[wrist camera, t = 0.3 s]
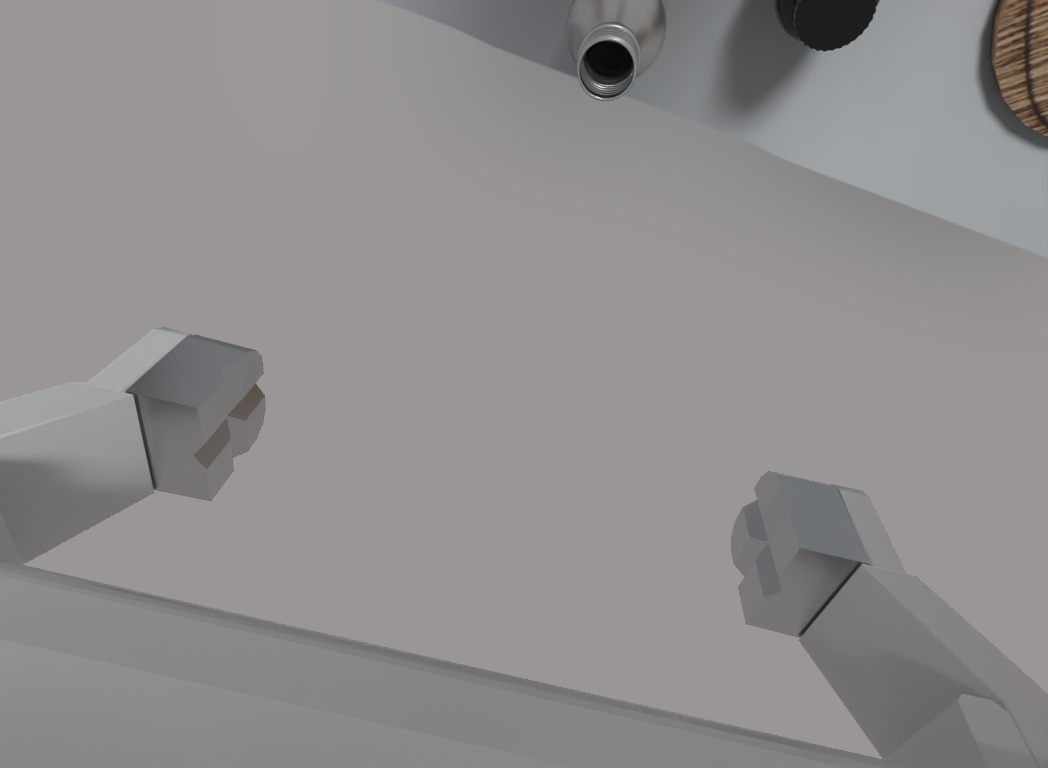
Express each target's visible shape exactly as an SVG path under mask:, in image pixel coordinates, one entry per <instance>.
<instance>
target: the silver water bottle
mask: <svg viewBox="0 0 1048 768" xmlns="http://www.w3.org/2000/svg"><path fill="white" fill-rule="evenodd" d="M665 32H666V13H665V7H664V3H663V0H574V2H573V4H572V7H571V9H570V12H569V16H568V21H567V39H568V44H569V48H570V51H571V53H572V56H573V59H574V61H575V62H576V64H577V75H578V80H579V83H580V85H581V87H582V88H583V90H584V91H585V92H586V93H587V94H588V95H590V96H591V97H593V98H595V99H597V100H602V101H610V100H614V99H617V98H620V97H621V96H623V95H624V94H625V93H626V92H627V91H628V90H629V89H630V88H631V86H632V85H633V83H634V81H635V78H636V77H638V76H640V75H641V74H642V73H643V72H644V71H645V70H646V69H647V68H648V67H649V66H650V65H651V64H652V63H653V61H654V60H655V59H656V57H657V56H658V54H659V52H660V50H661V48H662V45H663V42H664V38H665Z"/></svg>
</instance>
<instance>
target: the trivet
mask: <svg viewBox="0 0 1048 768" xmlns="http://www.w3.org/2000/svg"><path fill="white" fill-rule="evenodd" d="M990 61H991V64H992V68H993V72H994V75H995V79H996V83H997V87H998V90H999V92H1000V94H1001V96H1002V98H1003V99H1004V101H1005V102H1006V103H1007V104H1008V106H1009V107H1010V108H1011V109H1012V111H1013V112H1014V113H1015V114H1016V115H1017V117H1018V118H1019V119H1020V120H1021V122H1022V123H1023V124H1024V125H1025V126H1027V127H1029V128H1031V129H1033V130H1035V131H1037V132H1038V133H1040V134H1042V135H1044V136H1046V137H1048V0H999V3H998V5H997V8H996V11H995V13H994V16H993V26H992V37H991V48H990Z"/></svg>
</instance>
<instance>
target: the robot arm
mask: <svg viewBox="0 0 1048 768" xmlns="http://www.w3.org/2000/svg"><path fill="white" fill-rule="evenodd" d="M262 375H263V363H262V356H261V355H260V354H259V353H258V352H257V351H256V350H253V349H249V348H245V347H241V346H238V345H233V344H230V343H226V342H222V341H218V340H214V339H210V338H206V337H202V336H199V335H192V334H190V333H186V332H181V331H178V330H173V329H169V328H165V327H161V328H155V329H153V330H151V331H150V332H149V333H148V334H147V335H145V336H144V337H143V338H142V339H140V340H139V341H138V342H137V343H135V344H134V345H133V346H132V347H131V348H129V349H128V350H127V351H125V352H124V353H123V354H122V355H120V356H119V357H118V358H117V359H116V360H114V361H113V362H112V363H110V364H109V365H108V366H107V367H105V368H104V369H103V370H102V371H100V372H99V373H98V374H97V375H96V376H94V377H93V378H92V379H91V380H89V381H88V382H87V383H82V382H77V381H74V382H70V383H67V384H63V385H59V386H55V387H52V388H48V389H45V390H41V391H38V392H34V393H30V394H27V395H23V396H19V397H17V398H12V399H9V400H5V401H2V402H0V768H1048V693H1047V692H1046V691H1044V690H1043V689H1042V688H1041V687H1040V686H1039V685H1038V684H1037V683H1035V682H1034V681H1033V680H1032V679H1031V678H1030V677H1029V676H1027V675H1026V674H1025V673H1024V672H1023V671H1022V670H1021V669H1020V668H1019V667H1018V666H1016V665H1015V664H1014V663H1013V662H1012V661H1011V660H1010V659H1009V658H1008V657H1006V656H1005V655H1004V654H1003V653H1002V652H1001V651H1000V650H999V649H997V648H996V647H995V646H994V645H993V644H992V643H991V642H990V641H989V640H987V639H986V638H985V637H984V636H983V635H982V634H981V633H979V632H978V631H977V630H976V629H975V628H974V627H973V626H972V625H970V624H969V623H968V622H967V621H966V620H965V619H964V618H963V617H962V616H961V615H959V614H958V613H957V612H956V611H955V610H954V609H953V608H951V607H950V606H949V605H948V604H947V603H946V602H945V601H944V600H943V599H941V598H940V597H939V596H938V595H937V594H936V593H935V592H934V591H933V590H931V589H930V588H929V587H928V586H927V585H926V584H925V583H923V582H922V581H921V580H920V579H919V578H918V577H917V576H912V575H908V574H906V571H905V569H904V567H903V565H902V563H901V561H900V559H899V557H898V555H897V553H896V551H895V549H894V546H893V544H892V542H891V540H890V538H889V536H888V534H887V532H886V530H885V528H884V526H883V524H882V521H881V519H880V517H879V515H878V513H877V511H876V509H875V507H874V505H873V503H872V501H871V499H870V497H869V496H868V495H867V494H866V493H865V492H863V491H861V490H856V489H852V488H847V487H842V486H837V485H832V484H831V485H827V484H823V483H819V482H815V481H810V480H806V479H802V478H797V477H793V476H789V475H784V474H780V473H776V472H771V471H768V472H767V473H766V474H764V475H763V476H762V477H761V478H760V480H759V481H758V483H757V485H756V486H755V488H754V489H755V493H756V497H757V500H756V501H754V502H752V503H750V504H748V505H746V506H744V507H743V508H742V510H741V511H740V513H739V515H738V517H737V519H736V521H735V524H734V528H733V532H732V537H731V552H732V557H733V563H734V565H735V566H736V567H737V568H738V569H739V571H740V572H741V573H742V574H743V575H744V576H745V577H744V579H743V581H742V582H741V583H740V585H739V587H738V588H739V593H740V598H741V603H742V608H743V612H744V617H745V622H746V624H748V625H752V626H756V627H760V628H764V629H768V630H772V631H775V632H780V633H783V634H787V635H791V636H795V637H799V638H800V639H799V641H800V643H801V644H802V646H803V647H804V648H805V650H806V651H807V653H808V654H809V655H810V657H811V658H812V660H813V661H814V663H815V664H816V665H817V667H818V668H819V669H820V671H821V672H822V674H823V675H824V677H825V678H826V679H827V681H828V682H829V684H830V685H831V686H832V688H833V689H834V691H835V692H836V694H837V695H838V696H839V698H840V699H841V701H842V702H843V703H844V705H845V706H846V708H847V709H848V710H849V712H850V713H851V714H852V716H853V717H854V719H855V720H856V722H857V723H858V724H859V726H860V727H861V729H862V730H863V731H864V733H865V734H866V736H867V737H868V739H869V740H870V741H871V743H872V744H873V746H874V747H875V748H876V750H877V751H878V753H879V754H880V756H881V757H882V758H883V759H878V758H874V757H869V756H865V755H861V754H856V753H852V752H847V751H843V750H838V749H834V748H830V747H825V746H821V745H816V744H812V743H807V742H803V741H799V740H794V739H789V738H785V737H781V736H777V735H772V734H768V733H763V732H759V731H754V730H750V729H745V728H741V727H736V726H732V725H727V724H723V723H719V722H714V721H710V720H705V719H701V718H697V717H692V716H688V715H683V714H679V713H675V712H670V711H666V710H661V709H657V708H652V707H648V706H643V705H639V704H634V703H630V702H625V701H621V700H617V699H612V698H608V697H603V696H599V695H594V694H590V693H586V692H581V691H577V690H572V689H568V688H563V687H559V686H554V685H550V684H545V683H541V682H537V681H532V680H528V679H523V678H519V677H515V676H510V675H506V674H501V673H497V672H492V671H488V670H483V669H479V668H475V667H471V666H466V665H462V664H457V663H452V662H449V661H444V660H440V659H435V658H431V657H426V656H421V655H418V654H413V653H409V652H404V651H400V650H396V649H391V648H387V647H382V646H378V645H374V644H369V643H364V642H360V641H356V640H351V639H347V638H343V637H338V636H333V635H329V634H325V633H320V632H316V631H311V630H307V629H303V628H298V627H294V626H289V625H285V624H281V623H276V622H272V621H267V620H263V619H258V618H254V617H249V616H245V615H241V614H237V613H232V612H227V611H223V610H219V609H214V608H210V607H206V606H201V605H197V604H192V603H187V602H183V601H178V600H175V599H170V598H166V597H161V596H157V595H152V594H148V593H143V592H139V591H135V590H130V589H126V588H121V587H117V586H113V585H108V584H103V583H99V582H95V581H90V580H85V579H82V578H77V577H73V576H68V575H64V574H59V573H55V572H50V571H46V570H42V569H37V568H33V567H28V566H25V565H24V564H25V563H27V562H28V561H30V560H32V559H34V558H36V557H37V556H39V555H41V554H43V553H45V552H47V551H48V550H50V549H52V548H54V547H56V546H58V545H59V544H61V543H63V542H65V541H67V540H69V539H70V538H72V537H74V536H76V535H78V534H79V533H81V532H83V531H85V530H87V529H89V528H91V527H92V526H94V525H96V524H98V523H100V522H102V521H103V520H105V519H107V518H109V517H111V516H113V515H114V514H116V513H118V512H120V511H122V510H124V509H125V508H127V507H129V506H131V505H133V504H134V503H136V502H138V501H140V500H142V499H144V498H145V497H147V496H149V495H151V494H153V493H154V490H158V491H163V492H168V493H173V494H178V495H183V496H188V497H193V498H198V499H203V500H208V501H212V499H213V498H214V496H215V495H216V494H217V493H218V491H219V490H220V488H221V487H222V486H223V484H224V483H225V482H226V480H227V479H228V478H229V476H230V475H231V474H232V472H233V471H234V469H233V458H234V457H236V456H238V455H241V454H243V453H245V452H247V451H249V449H250V448H251V446H252V445H253V443H254V442H255V441H256V439H257V437H258V434H259V432H260V429H261V427H262V424H263V421H264V415H265V395H264V394H263V393H262V391H261V390H260V389H259V387H258V386H257V385H256V382H257V381H258V379H259V378H260V377H261V376H262Z"/></svg>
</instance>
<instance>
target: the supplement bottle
mask: <svg viewBox="0 0 1048 768" xmlns="http://www.w3.org/2000/svg"><path fill="white" fill-rule="evenodd" d="M879 1H880V0H774V4H775V11H776V15H777V18H778V20H779V23H780V24H781V26H782V28H783V29H784V30H785V31H786V32H787V33H788V34H789V35H790V36H792V37H793V38H795V39H797V40H799V41H801V42H804V45H806V46H809V47H810V48H811V49H815V50H817V51H819V50H822V51H827V50H834V49H836V48H841V47H843V46H844V45H848V44H849V43H850V42H851V41H854V40H855V39H856V38H857V37H858V36H859V35H861V34H862V33H863V31H864V30H865V29H866V28H867V27H868V25H869V23H870V22H871V21H872V19H873V15H874V13H875V12H876V7H877V5H878V3H879Z"/></svg>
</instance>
